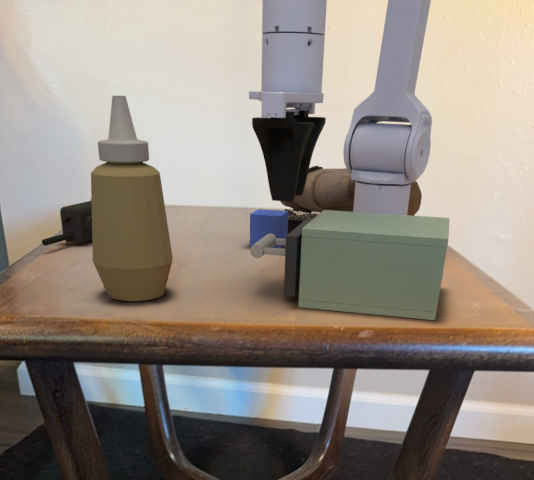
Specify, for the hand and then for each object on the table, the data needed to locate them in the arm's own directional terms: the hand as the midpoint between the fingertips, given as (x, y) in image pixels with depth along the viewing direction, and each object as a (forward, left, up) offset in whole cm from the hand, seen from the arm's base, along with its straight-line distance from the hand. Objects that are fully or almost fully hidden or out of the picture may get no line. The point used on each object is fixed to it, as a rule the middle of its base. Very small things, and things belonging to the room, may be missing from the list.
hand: (287, 197), depth 64 cm
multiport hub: (-32, -2, -10) cm, 34 cm away
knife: (-42, -6, -9) cm, 43 cm away
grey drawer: (0, +5, -8) cm, 10 cm away
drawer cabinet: (0, +10, -9) cm, 13 cm away
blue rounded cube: (-22, -7, -9) cm, 25 cm away
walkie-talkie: (-22, -31, -7) cm, 39 cm away
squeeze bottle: (+7, -14, -10) cm, 19 cm away
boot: (-44, +8, -4) cm, 45 cm away
